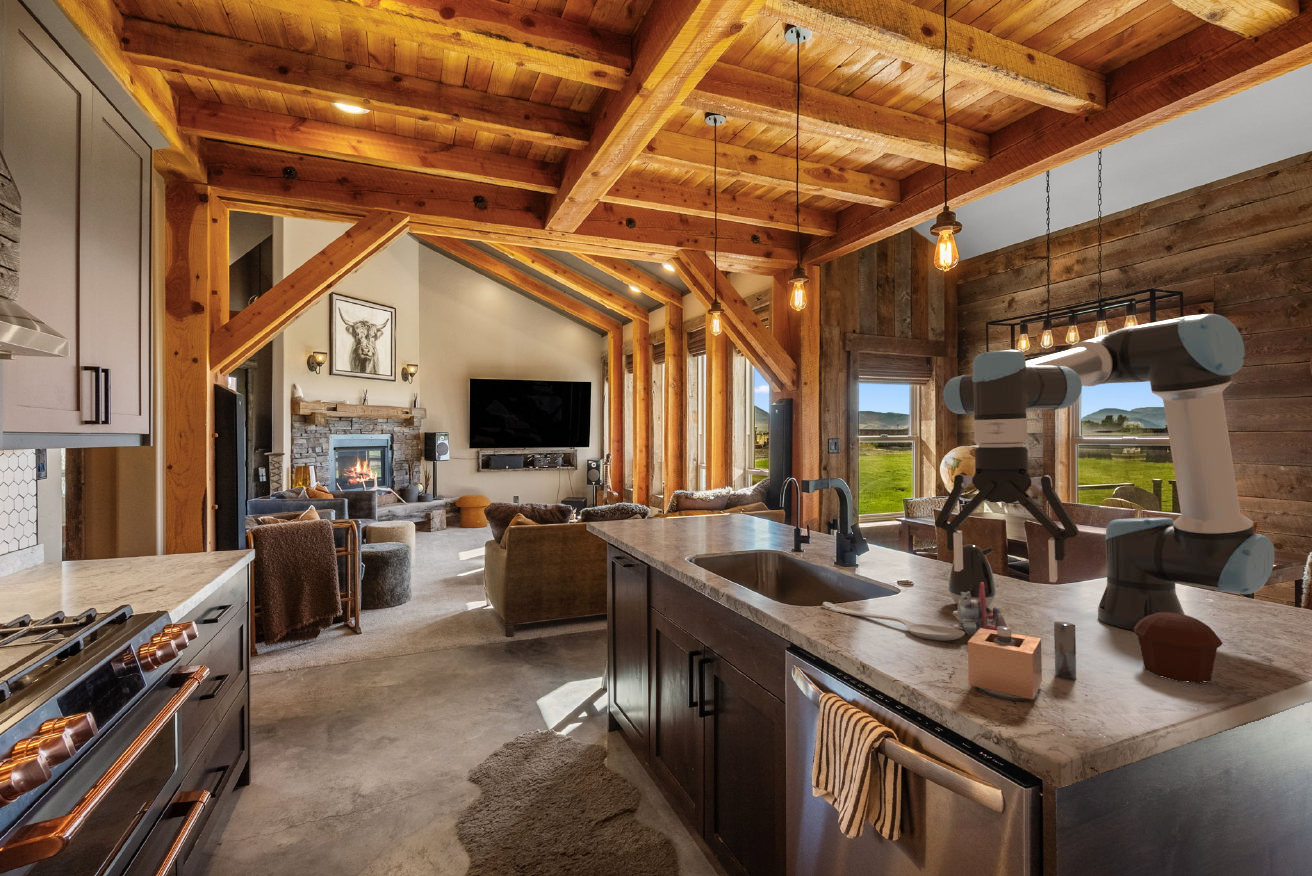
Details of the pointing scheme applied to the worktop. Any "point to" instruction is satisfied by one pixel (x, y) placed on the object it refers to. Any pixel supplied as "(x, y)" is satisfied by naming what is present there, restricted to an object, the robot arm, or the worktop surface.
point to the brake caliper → (977, 613)
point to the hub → (1005, 639)
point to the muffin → (1177, 646)
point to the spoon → (908, 625)
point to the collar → (1005, 664)
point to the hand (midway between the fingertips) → (1004, 575)
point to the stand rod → (1065, 650)
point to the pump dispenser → (973, 575)
